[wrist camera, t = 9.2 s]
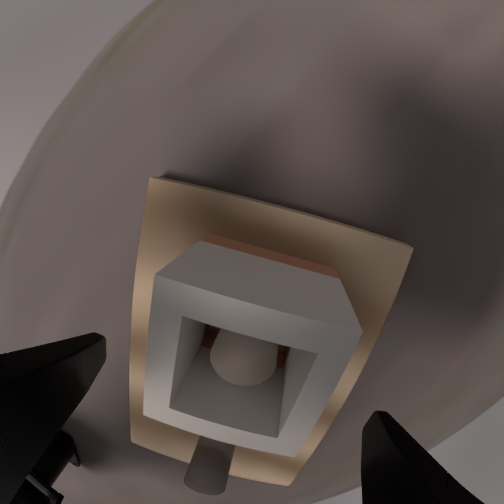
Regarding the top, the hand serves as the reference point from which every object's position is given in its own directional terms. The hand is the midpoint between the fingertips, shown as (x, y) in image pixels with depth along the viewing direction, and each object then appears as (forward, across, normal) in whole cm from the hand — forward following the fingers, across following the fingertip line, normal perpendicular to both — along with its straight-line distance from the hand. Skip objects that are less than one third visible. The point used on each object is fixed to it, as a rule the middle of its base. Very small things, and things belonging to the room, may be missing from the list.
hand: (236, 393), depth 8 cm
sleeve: (+6, 0, 0) cm, 6 cm away
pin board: (+8, 0, +5) cm, 9 cm away
